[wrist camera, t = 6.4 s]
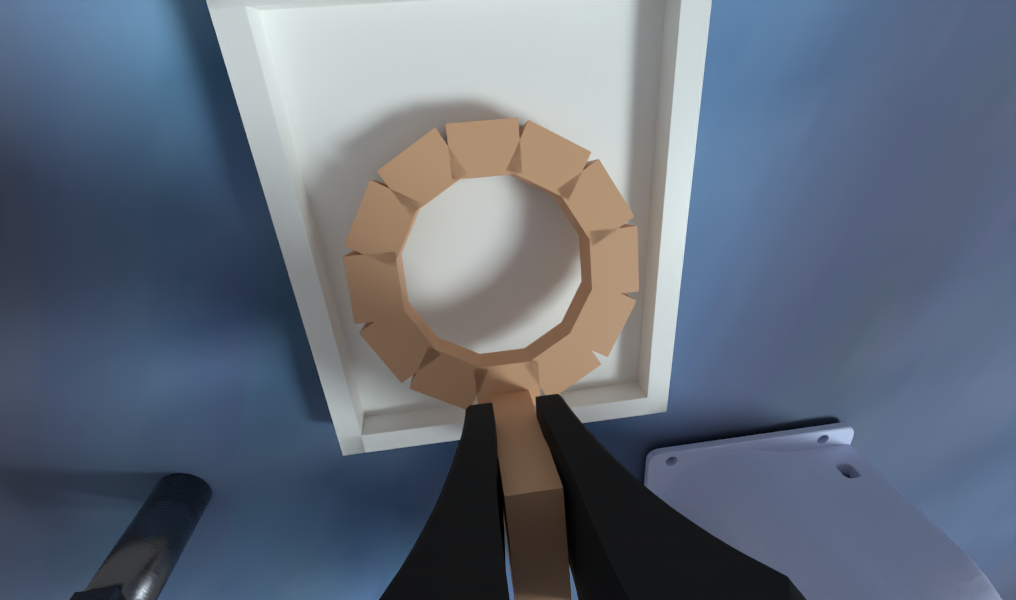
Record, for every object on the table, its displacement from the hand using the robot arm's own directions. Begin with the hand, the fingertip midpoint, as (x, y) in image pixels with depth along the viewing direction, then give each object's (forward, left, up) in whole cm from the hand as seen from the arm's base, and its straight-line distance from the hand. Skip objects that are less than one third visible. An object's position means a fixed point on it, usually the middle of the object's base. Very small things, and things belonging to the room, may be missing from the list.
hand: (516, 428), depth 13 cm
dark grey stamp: (+13, +6, -5) cm, 15 cm away
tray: (0, -4, -5) cm, 6 cm away
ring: (0, -2, -3) cm, 4 cm away
